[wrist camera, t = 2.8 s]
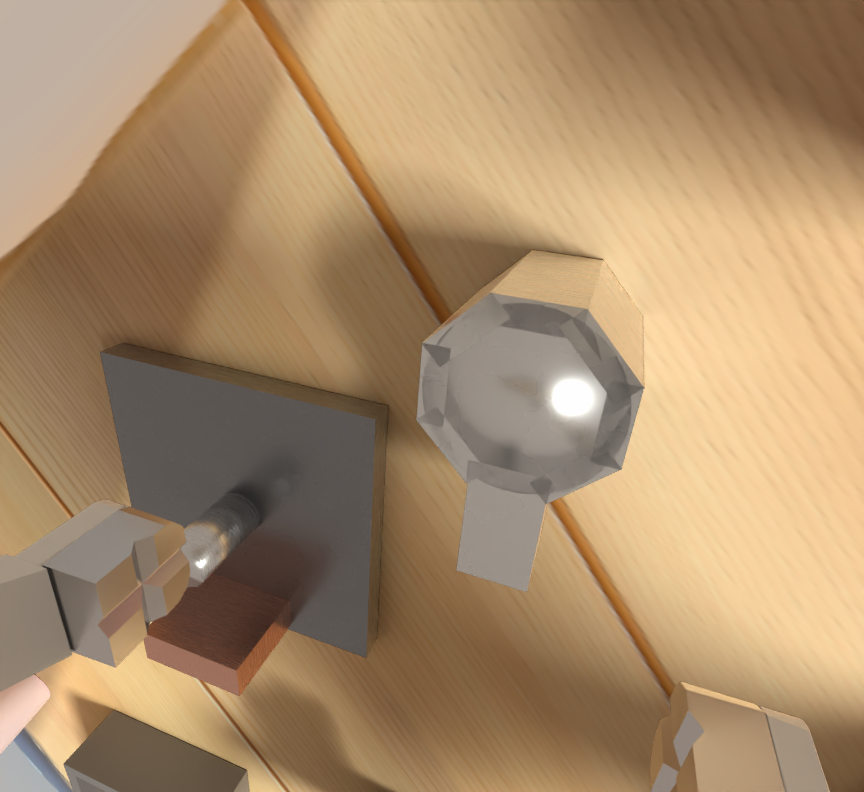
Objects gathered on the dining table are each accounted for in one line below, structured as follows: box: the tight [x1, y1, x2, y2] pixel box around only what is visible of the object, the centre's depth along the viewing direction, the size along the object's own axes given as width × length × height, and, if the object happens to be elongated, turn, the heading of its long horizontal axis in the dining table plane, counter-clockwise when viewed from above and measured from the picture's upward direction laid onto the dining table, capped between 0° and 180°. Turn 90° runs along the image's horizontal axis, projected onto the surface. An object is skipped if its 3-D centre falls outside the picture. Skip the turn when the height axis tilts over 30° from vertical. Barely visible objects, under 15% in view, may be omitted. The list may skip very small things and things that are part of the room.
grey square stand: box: [100, 343, 388, 696], centre depth 29 cm, size 16×16×6 cm
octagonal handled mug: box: [416, 250, 645, 592], centre depth 20 cm, size 6×10×7 cm, turn 175°
